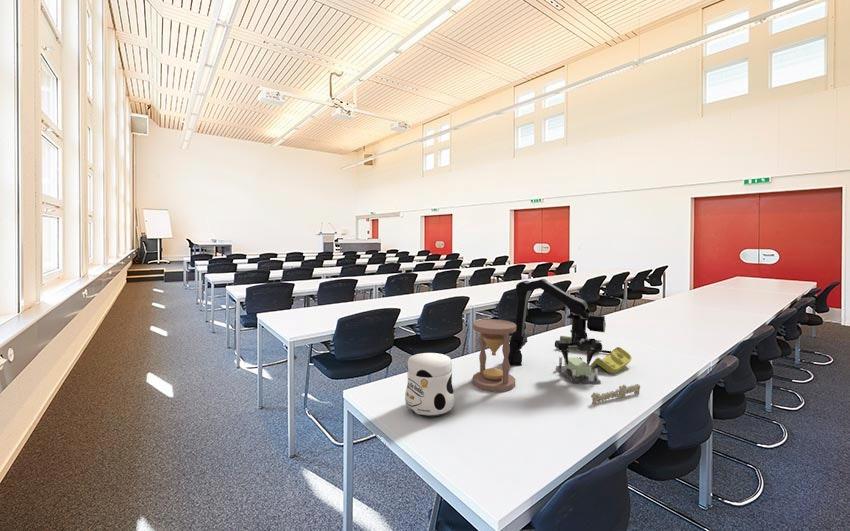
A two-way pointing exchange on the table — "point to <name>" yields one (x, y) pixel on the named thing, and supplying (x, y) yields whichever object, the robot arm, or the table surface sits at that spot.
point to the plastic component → (613, 360)
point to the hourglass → (494, 339)
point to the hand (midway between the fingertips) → (577, 364)
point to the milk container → (429, 384)
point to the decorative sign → (616, 393)
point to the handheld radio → (567, 339)
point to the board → (578, 366)
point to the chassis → (577, 378)
